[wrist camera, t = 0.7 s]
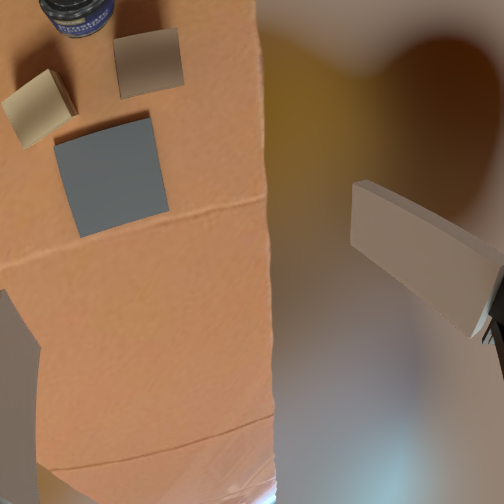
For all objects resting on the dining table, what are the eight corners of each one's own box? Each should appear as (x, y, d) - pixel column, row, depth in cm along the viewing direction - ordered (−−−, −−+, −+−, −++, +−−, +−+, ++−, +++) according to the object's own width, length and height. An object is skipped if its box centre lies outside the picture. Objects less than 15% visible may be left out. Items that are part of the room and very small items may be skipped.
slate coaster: (54, 145, 25) (53, 146, 24) (149, 117, 28) (150, 117, 27) (81, 234, 30) (80, 237, 29) (167, 208, 33) (169, 210, 32)
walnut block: (114, 52, 23) (113, 39, 18) (164, 42, 25) (176, 27, 19) (121, 99, 26) (121, 98, 20) (170, 88, 27) (184, 84, 22)
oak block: (17, 102, 21) (1, 103, 17) (58, 73, 22) (48, 68, 18) (37, 142, 24) (24, 149, 20) (78, 114, 25) (71, 116, 21)
